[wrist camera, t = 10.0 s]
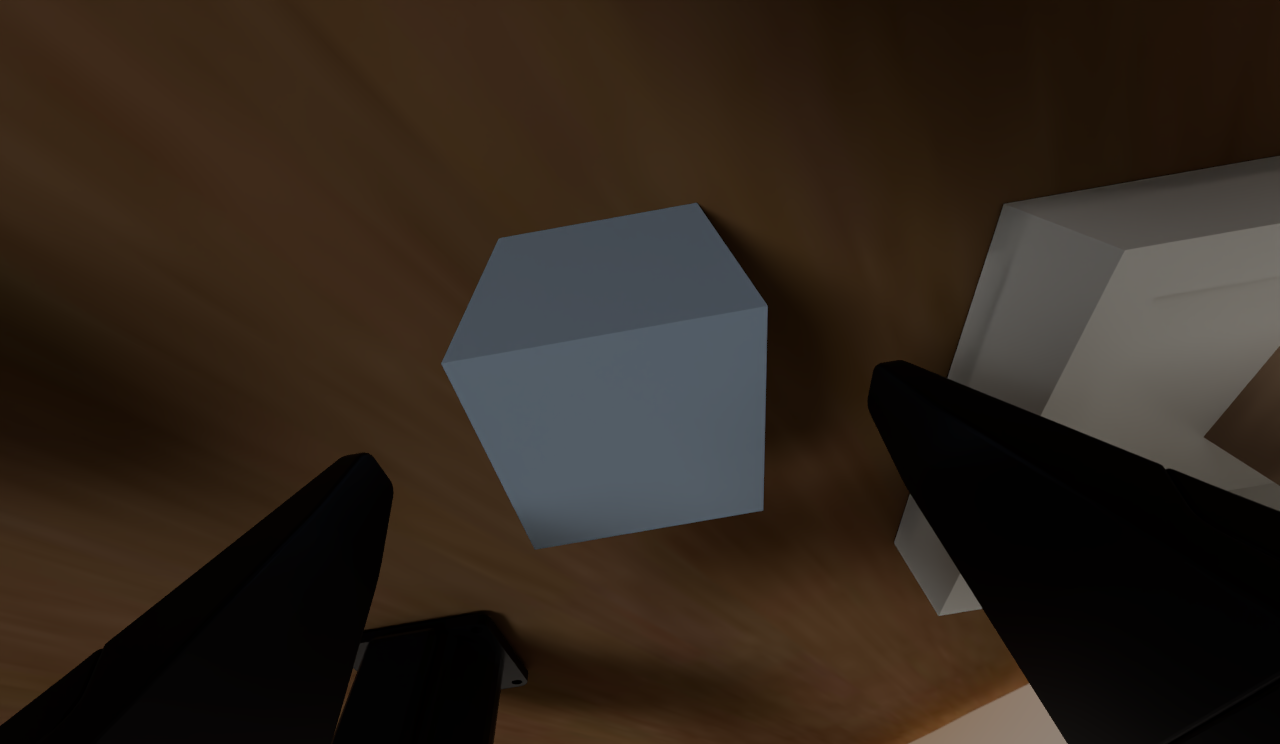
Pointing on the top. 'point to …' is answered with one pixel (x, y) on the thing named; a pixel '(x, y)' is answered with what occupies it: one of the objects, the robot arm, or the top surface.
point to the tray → (1124, 326)
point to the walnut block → (1254, 422)
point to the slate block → (617, 376)
